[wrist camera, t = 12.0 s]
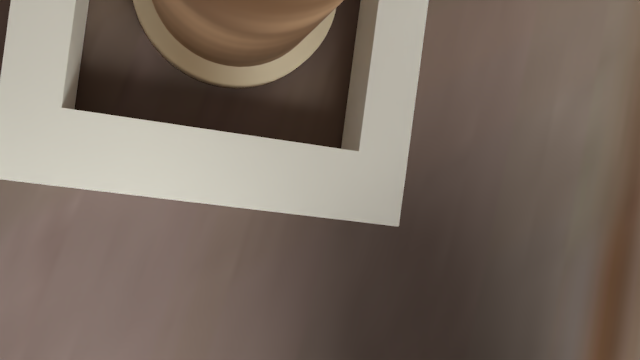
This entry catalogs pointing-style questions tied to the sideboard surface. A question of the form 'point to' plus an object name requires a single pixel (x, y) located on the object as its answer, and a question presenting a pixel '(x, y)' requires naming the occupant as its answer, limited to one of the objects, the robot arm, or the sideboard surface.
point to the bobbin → (236, 36)
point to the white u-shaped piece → (204, 144)
